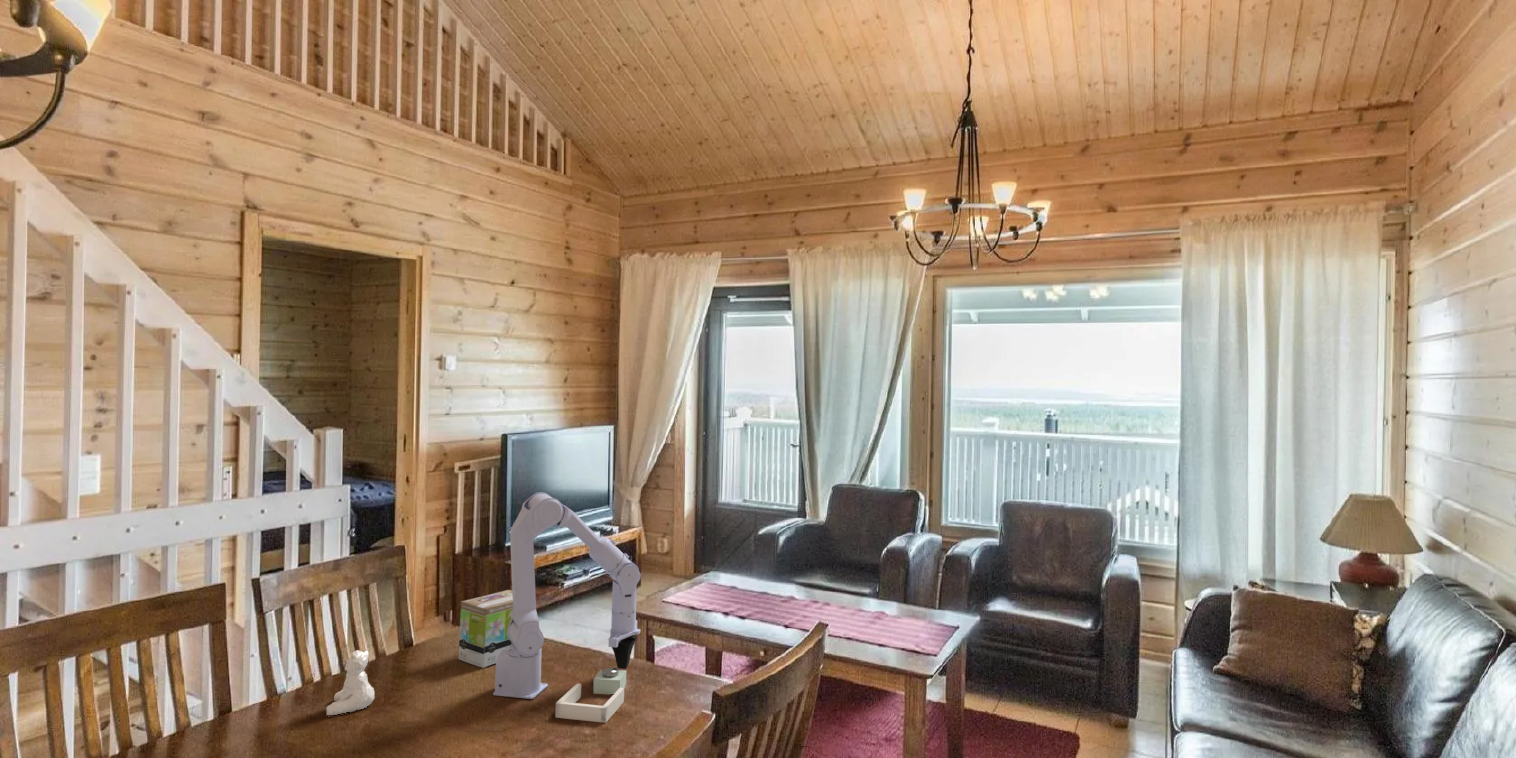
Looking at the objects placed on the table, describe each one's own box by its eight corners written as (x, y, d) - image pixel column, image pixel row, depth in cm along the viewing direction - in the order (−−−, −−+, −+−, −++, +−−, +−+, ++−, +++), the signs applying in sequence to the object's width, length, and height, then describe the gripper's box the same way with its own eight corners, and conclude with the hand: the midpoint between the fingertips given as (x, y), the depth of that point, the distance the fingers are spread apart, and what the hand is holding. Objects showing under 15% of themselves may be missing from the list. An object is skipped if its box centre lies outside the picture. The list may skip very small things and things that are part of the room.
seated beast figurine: (336, 699, 176) (337, 644, 176) (379, 696, 179) (380, 641, 178) (324, 717, 167) (325, 659, 167) (370, 714, 169) (371, 656, 169)
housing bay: (555, 717, 170) (555, 703, 170) (576, 696, 181) (576, 683, 181) (605, 722, 168) (605, 708, 168) (623, 701, 179) (624, 688, 179)
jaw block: (593, 694, 183) (593, 674, 183) (600, 684, 189) (600, 664, 189) (619, 695, 182) (620, 675, 182) (626, 685, 188) (626, 666, 188)
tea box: (484, 669, 196) (485, 608, 196) (457, 660, 201) (458, 600, 201) (533, 652, 208) (534, 594, 208) (506, 644, 214) (507, 587, 214)
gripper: (629, 621, 186) (628, 680, 186) (649, 603, 200) (648, 658, 200) (600, 618, 187) (599, 677, 187) (622, 601, 201) (620, 656, 201)
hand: (622, 667), depth 194 cm, fingers closed
